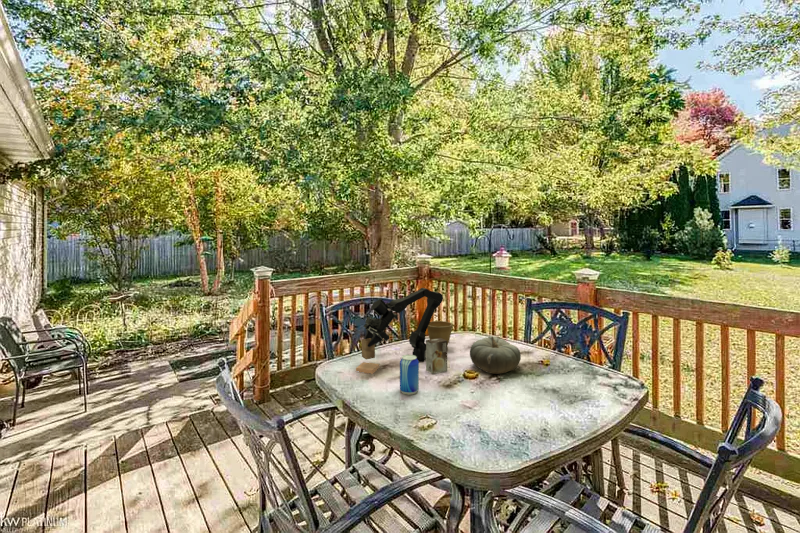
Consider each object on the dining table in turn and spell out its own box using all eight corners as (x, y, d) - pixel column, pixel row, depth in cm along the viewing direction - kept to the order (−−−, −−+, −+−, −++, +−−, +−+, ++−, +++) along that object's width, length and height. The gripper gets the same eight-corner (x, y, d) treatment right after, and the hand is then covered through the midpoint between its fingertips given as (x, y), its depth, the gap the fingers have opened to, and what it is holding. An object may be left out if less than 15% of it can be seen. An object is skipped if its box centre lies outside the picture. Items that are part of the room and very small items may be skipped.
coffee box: (440, 367, 217) (441, 337, 215) (447, 371, 211) (447, 340, 209) (425, 370, 212) (425, 339, 211) (432, 374, 207) (432, 343, 205)
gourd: (487, 351, 233) (491, 323, 228) (527, 370, 216) (532, 340, 211) (460, 367, 216) (463, 337, 211) (501, 388, 199) (505, 356, 194)
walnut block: (370, 355, 215) (370, 338, 214) (375, 357, 211) (374, 340, 210) (361, 356, 213) (361, 339, 212) (366, 359, 208) (365, 342, 207)
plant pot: (456, 348, 247) (456, 322, 245) (444, 355, 235) (445, 328, 233) (433, 344, 255) (434, 319, 253) (422, 351, 243) (422, 324, 241)
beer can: (412, 397, 180) (412, 361, 179) (396, 392, 185) (396, 358, 183) (421, 390, 188) (422, 356, 186) (406, 386, 192) (406, 352, 190)
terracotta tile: (379, 368, 216) (379, 364, 216) (372, 374, 207) (372, 370, 207) (363, 366, 219) (363, 362, 219) (356, 372, 210) (356, 367, 210)
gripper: (366, 308, 219) (347, 331, 215) (383, 315, 203) (363, 340, 199) (380, 320, 224) (361, 343, 220) (397, 328, 208) (378, 353, 204)
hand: (365, 345), depth 210 cm, fingers closed on walnut block, 5 cm apart
